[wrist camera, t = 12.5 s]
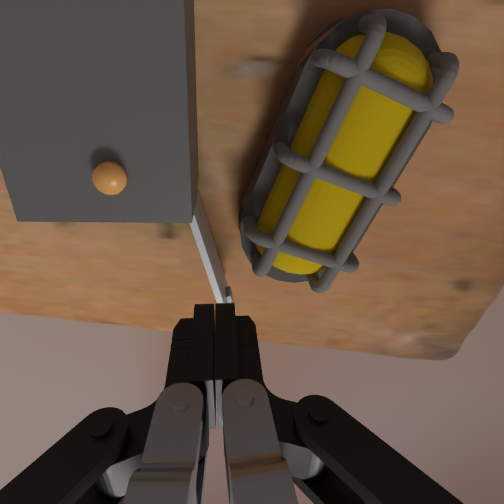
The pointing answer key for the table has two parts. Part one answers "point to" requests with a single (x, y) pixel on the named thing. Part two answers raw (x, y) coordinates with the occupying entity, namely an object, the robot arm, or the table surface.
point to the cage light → (342, 144)
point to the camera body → (99, 110)
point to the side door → (209, 253)
